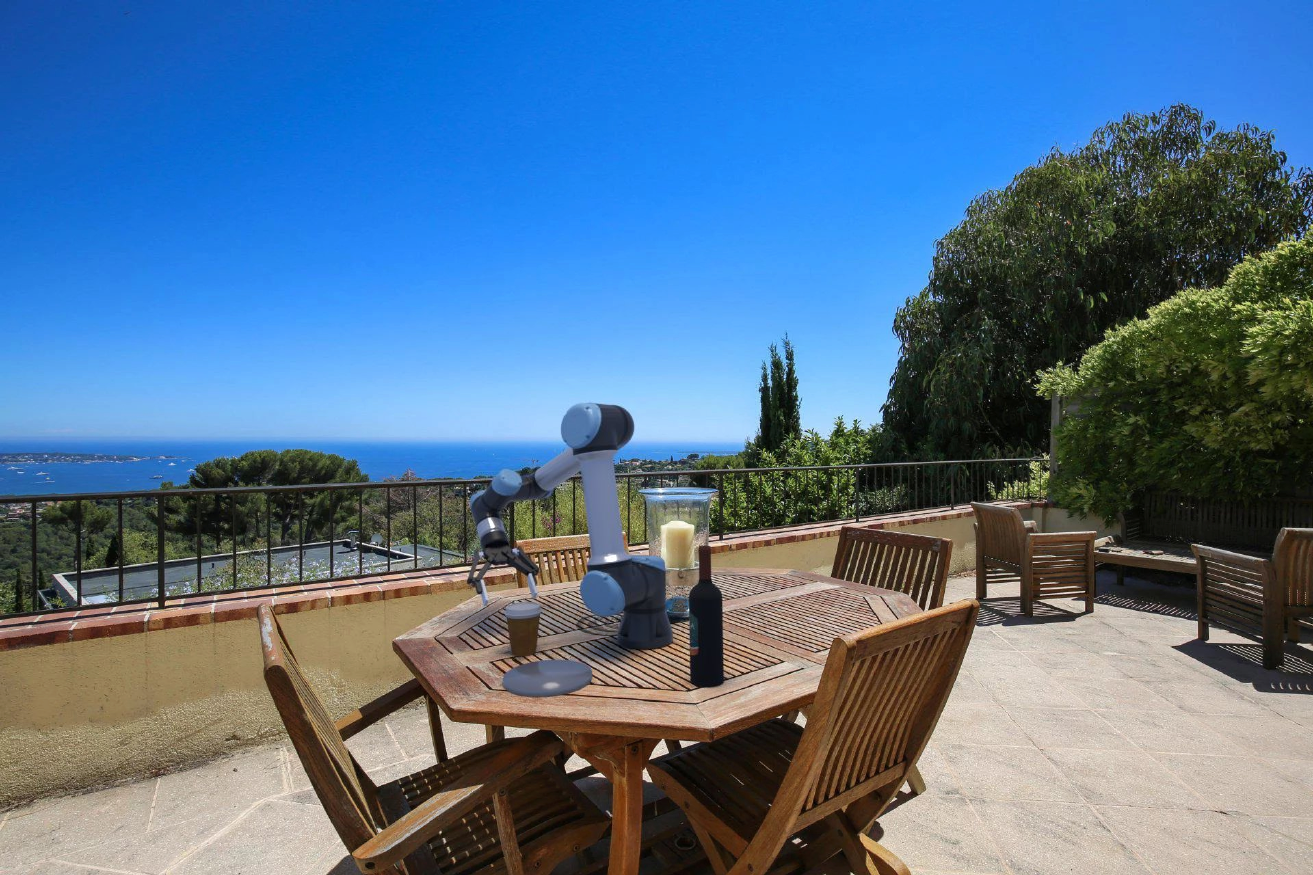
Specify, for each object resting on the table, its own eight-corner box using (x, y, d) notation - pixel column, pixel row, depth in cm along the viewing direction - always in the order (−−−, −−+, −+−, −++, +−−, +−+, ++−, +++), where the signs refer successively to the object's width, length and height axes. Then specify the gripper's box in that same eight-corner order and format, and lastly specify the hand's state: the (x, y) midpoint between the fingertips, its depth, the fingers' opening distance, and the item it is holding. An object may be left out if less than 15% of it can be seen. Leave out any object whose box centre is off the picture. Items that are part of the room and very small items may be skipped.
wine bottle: (714, 689, 134) (712, 550, 135) (684, 683, 138) (681, 547, 139) (729, 678, 140) (727, 545, 141) (700, 672, 145) (697, 543, 145)
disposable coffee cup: (507, 647, 165) (507, 602, 166) (544, 646, 166) (543, 600, 166) (502, 659, 156) (501, 611, 156) (540, 657, 157) (540, 609, 157)
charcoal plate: (600, 665, 150) (600, 660, 150) (580, 698, 131) (580, 692, 131) (520, 663, 153) (520, 658, 153) (488, 695, 133) (488, 689, 133)
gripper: (530, 541, 189) (550, 600, 176) (446, 549, 176) (461, 614, 163) (537, 525, 185) (558, 585, 172) (451, 532, 172) (467, 597, 159)
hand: (511, 599), depth 168 cm, fingers open, 13 cm apart
